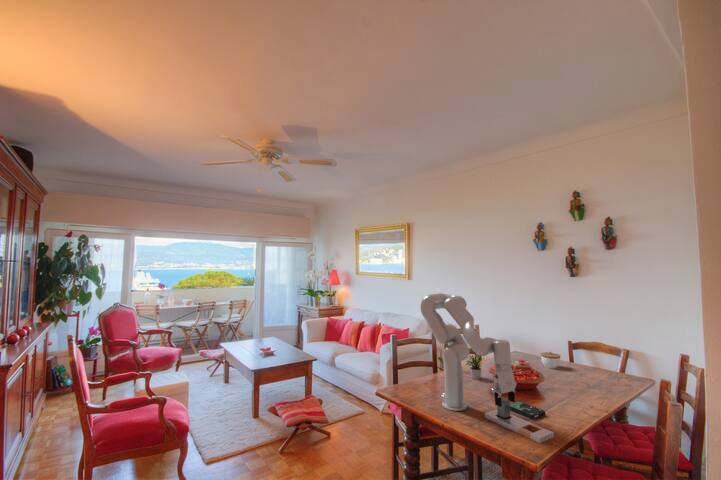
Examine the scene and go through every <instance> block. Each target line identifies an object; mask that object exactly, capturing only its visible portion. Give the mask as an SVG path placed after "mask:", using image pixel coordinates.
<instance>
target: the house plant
mask: <svg viewBox="0 0 721 480" xmlns="http://www.w3.org/2000/svg"><path fill="white" fill-rule="evenodd" d="M468 357H469V360H466V361H465V362H466V363H467V366H468V367H469V370H470V376H471V379H472V380H480V379H481V374H482V373H481V372H482V368H481V367H482V365H481V361H482V360H483V359H484V357H482V358H481V356H480V355H478V354H476V353H475V354H474V355H473V354H472V355H470V354H469V356H468ZM470 366H471V367H470Z"/></svg>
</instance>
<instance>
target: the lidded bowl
mask: <svg viewBox="0 0 721 480" xmlns="http://www.w3.org/2000/svg"><path fill="white" fill-rule="evenodd" d="M540 358H541V363H542V364H543V366H545V368H546V369H550V370H551V369H557V368H558V367H559V366H560V364H561V355H560V354H558V353H554V352H552V351H549V352H541V353H540Z"/></svg>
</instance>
